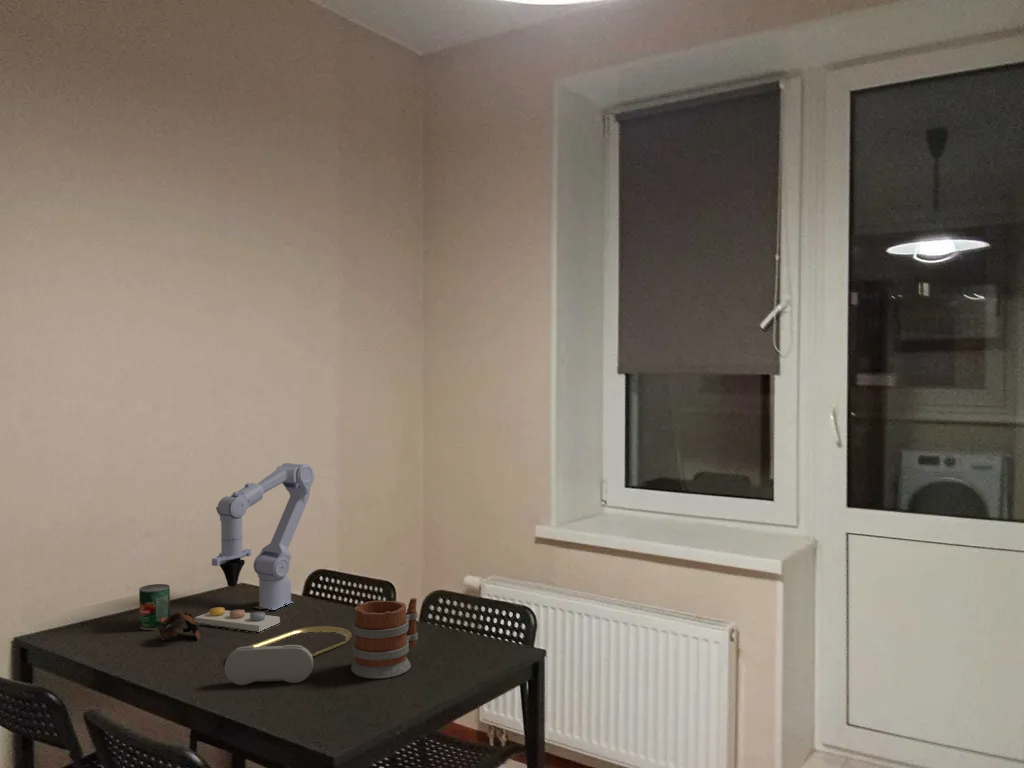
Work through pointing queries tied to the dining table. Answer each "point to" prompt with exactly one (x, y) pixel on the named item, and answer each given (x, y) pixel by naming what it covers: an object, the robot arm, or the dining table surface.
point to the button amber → (217, 611)
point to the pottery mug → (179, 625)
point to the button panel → (238, 621)
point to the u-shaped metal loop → (305, 630)
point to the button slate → (257, 616)
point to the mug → (383, 638)
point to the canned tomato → (154, 605)
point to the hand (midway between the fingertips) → (232, 585)
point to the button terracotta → (237, 613)
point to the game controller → (269, 664)
